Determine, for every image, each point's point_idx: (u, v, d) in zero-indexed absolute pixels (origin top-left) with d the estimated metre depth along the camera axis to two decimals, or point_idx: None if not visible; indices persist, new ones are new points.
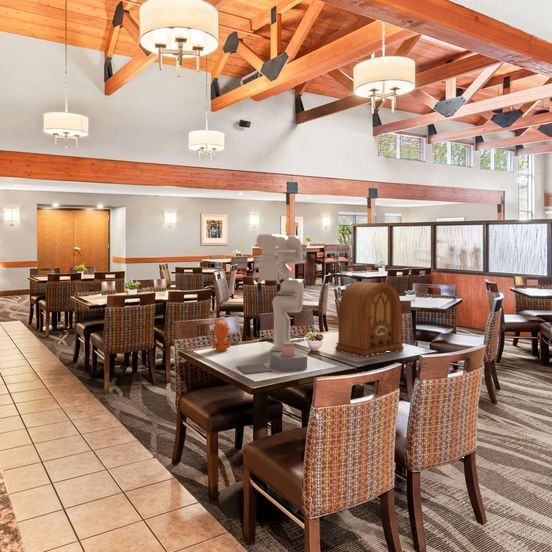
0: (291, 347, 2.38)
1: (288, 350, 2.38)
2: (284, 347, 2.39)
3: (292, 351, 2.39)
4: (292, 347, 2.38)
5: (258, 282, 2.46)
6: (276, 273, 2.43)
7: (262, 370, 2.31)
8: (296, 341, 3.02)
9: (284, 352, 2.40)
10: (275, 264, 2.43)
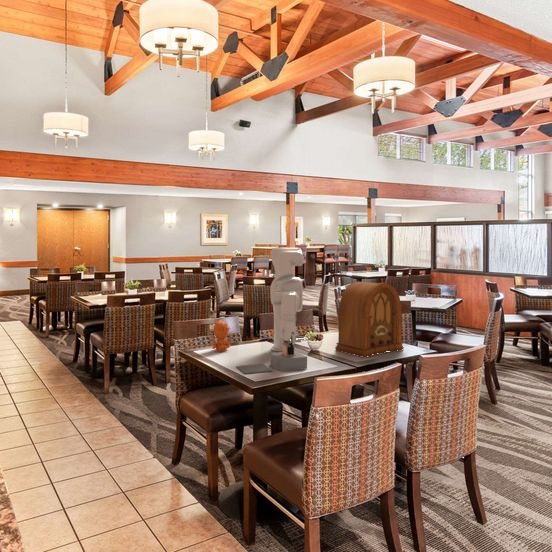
0: None
1: None
2: (284, 347, 2.39)
3: None
4: None
5: (293, 345, 2.38)
6: None
7: (262, 370, 2.31)
8: (296, 341, 3.02)
9: (284, 352, 2.40)
10: None
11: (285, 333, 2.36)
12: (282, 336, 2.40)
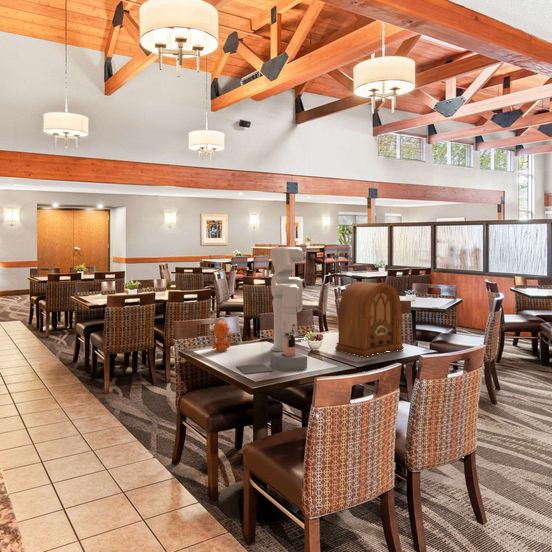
0: None
1: None
2: (285, 340, 2.39)
3: None
4: None
5: (294, 337, 2.38)
6: None
7: (262, 370, 2.31)
8: (296, 341, 3.02)
9: (285, 344, 2.40)
10: None
11: (286, 325, 2.37)
12: (283, 328, 2.40)
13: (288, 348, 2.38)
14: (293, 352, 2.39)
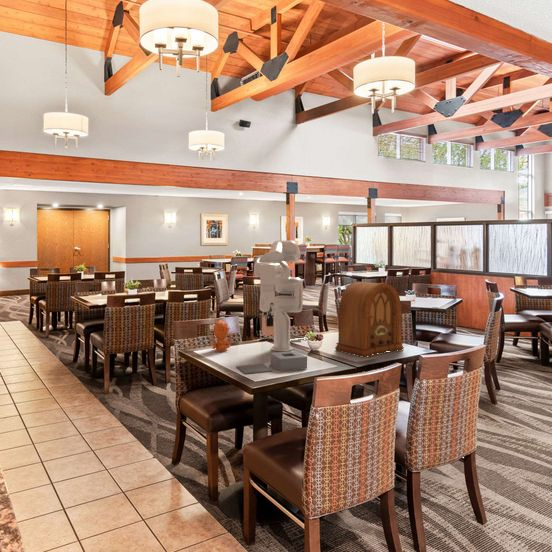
0: None
1: None
2: (264, 319, 2.34)
3: None
4: None
5: (272, 316, 2.33)
6: None
7: (262, 370, 2.31)
8: (296, 341, 3.02)
9: (263, 324, 2.35)
10: None
11: (264, 304, 2.32)
12: (261, 308, 2.35)
13: (266, 327, 2.33)
14: (271, 331, 2.34)
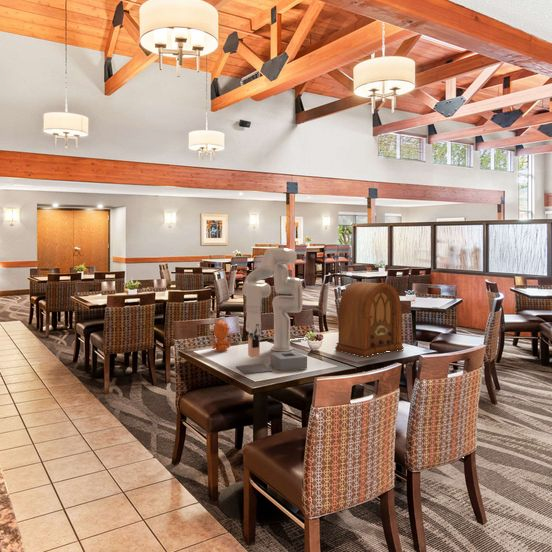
0: None
1: None
2: (249, 340, 2.33)
3: None
4: None
5: (258, 337, 2.31)
6: None
7: (262, 370, 2.31)
8: (296, 341, 3.02)
9: (249, 345, 2.33)
10: None
11: (250, 325, 2.30)
12: (247, 328, 2.34)
13: (252, 348, 2.32)
14: (257, 353, 2.33)
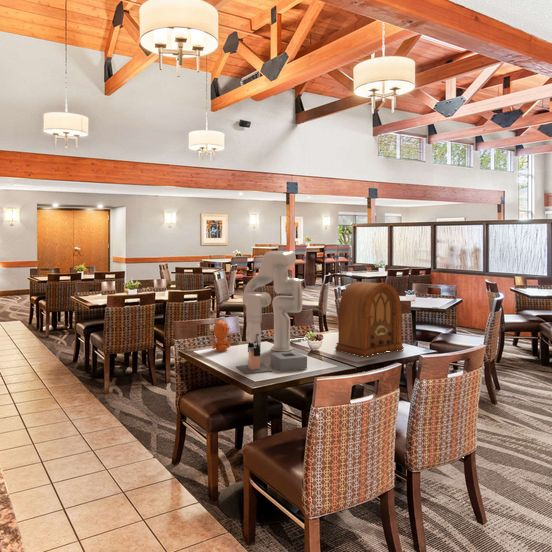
0: None
1: (253, 355, 2.32)
2: (250, 352, 2.34)
3: (258, 356, 2.33)
4: None
5: (259, 346, 2.30)
6: None
7: (262, 370, 2.31)
8: (296, 341, 3.02)
9: (249, 357, 2.34)
10: None
11: (250, 335, 2.31)
12: (247, 338, 2.34)
13: (252, 361, 2.32)
14: (258, 365, 2.33)
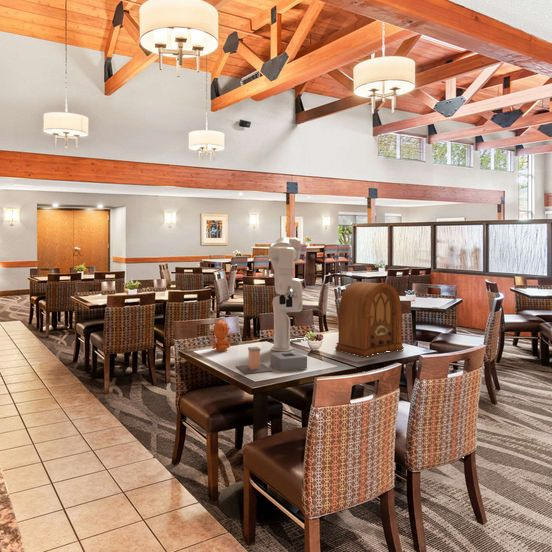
0: (256, 352, 2.33)
1: (253, 355, 2.32)
2: (250, 352, 2.34)
3: (258, 356, 2.33)
4: (257, 352, 2.33)
5: None
6: None
7: (262, 370, 2.31)
8: (296, 341, 3.02)
9: (249, 357, 2.34)
10: None
11: (282, 287, 2.39)
12: (279, 290, 2.43)
13: (252, 361, 2.32)
14: (258, 365, 2.33)
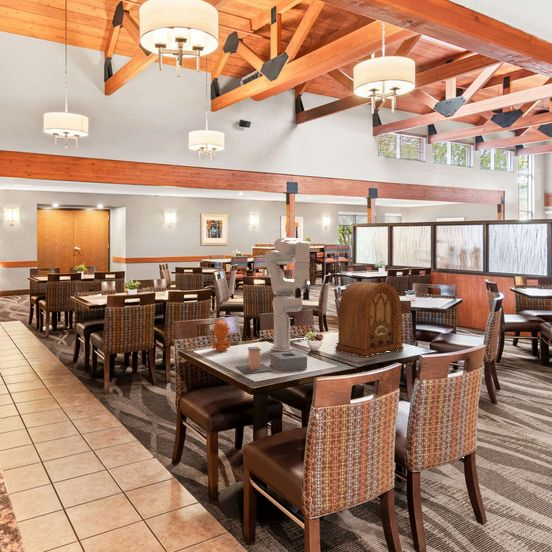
0: (256, 352, 2.33)
1: (253, 355, 2.32)
2: (250, 352, 2.34)
3: (258, 356, 2.33)
4: (257, 352, 2.33)
5: None
6: None
7: (262, 370, 2.31)
8: (296, 341, 3.02)
9: (249, 357, 2.34)
10: None
11: (299, 280, 2.44)
12: (296, 284, 2.48)
13: (252, 361, 2.32)
14: (258, 365, 2.33)
